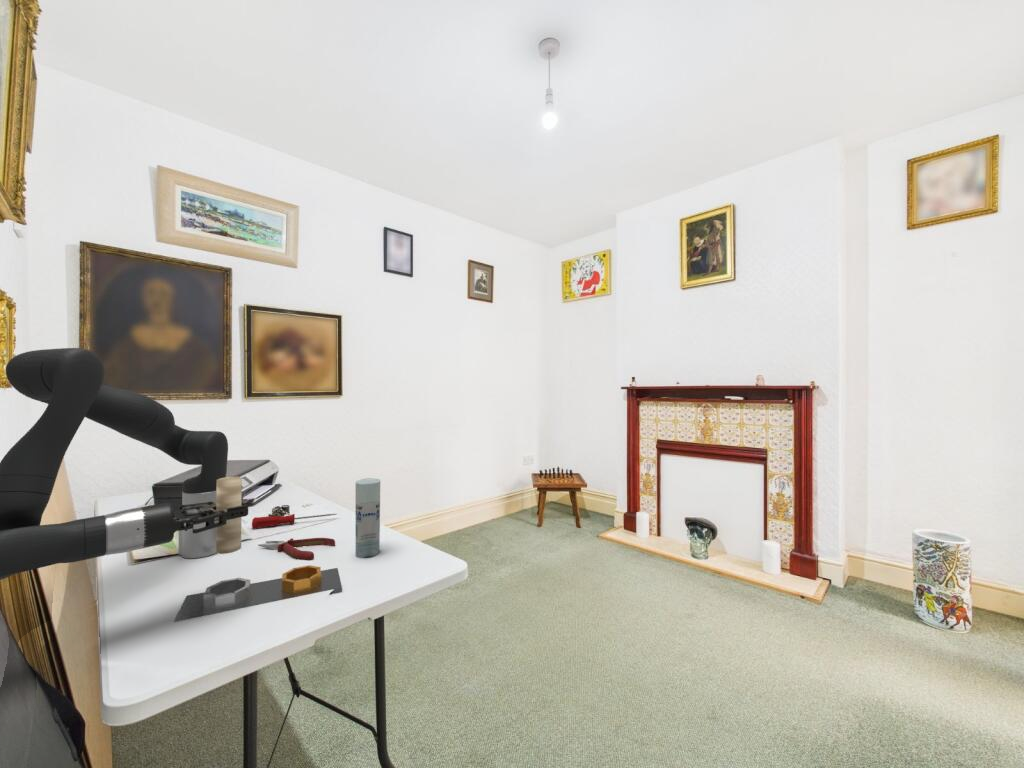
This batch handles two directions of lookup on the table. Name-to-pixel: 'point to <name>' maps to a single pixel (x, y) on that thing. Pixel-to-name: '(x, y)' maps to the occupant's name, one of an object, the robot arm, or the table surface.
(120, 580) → the table surface
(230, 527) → the peg
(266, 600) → the grey board
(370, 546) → the spray paint can
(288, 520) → the screwdriver
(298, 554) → the pliers
